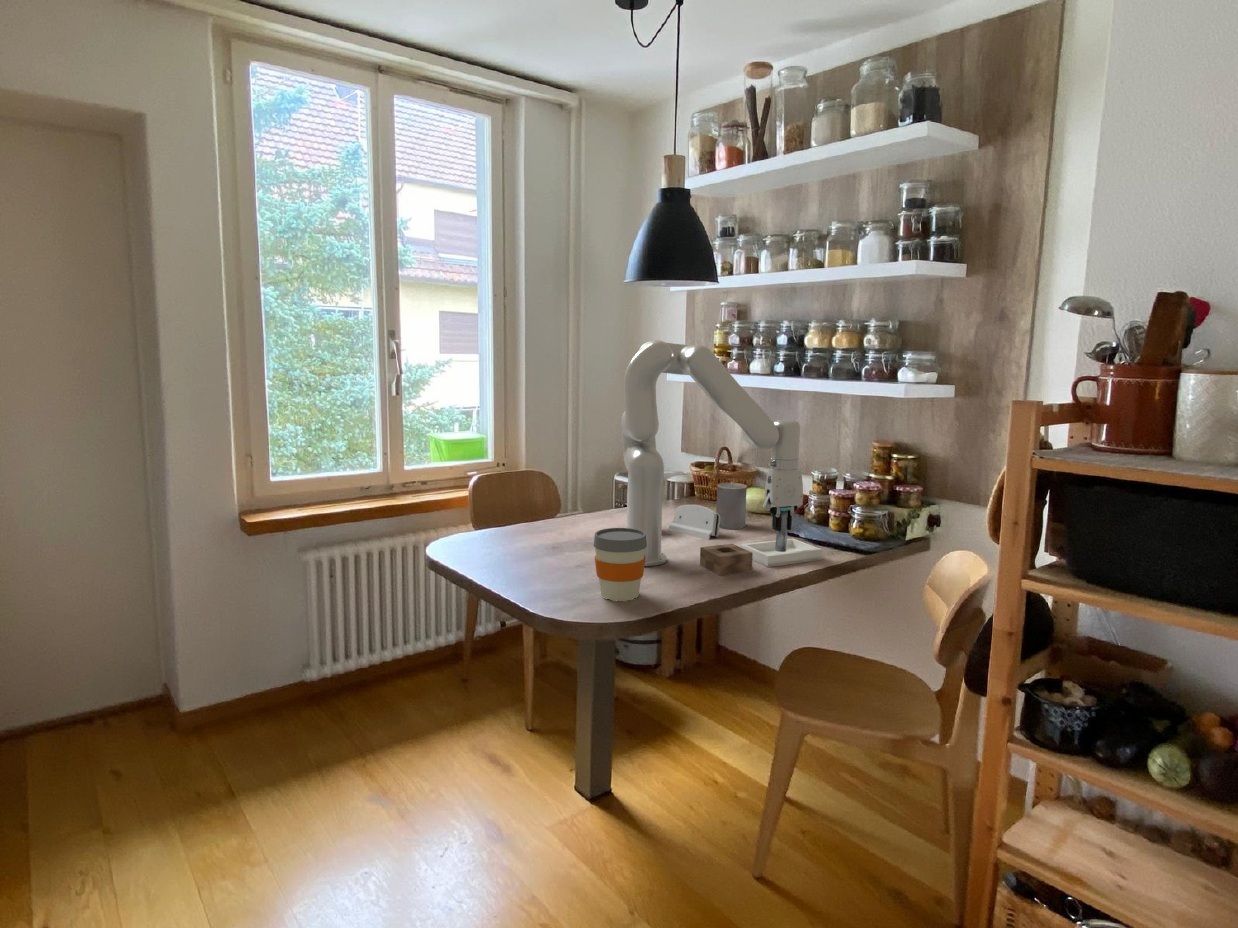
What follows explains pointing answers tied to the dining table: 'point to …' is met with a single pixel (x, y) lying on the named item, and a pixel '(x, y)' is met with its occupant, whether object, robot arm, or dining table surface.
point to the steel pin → (782, 530)
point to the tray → (793, 554)
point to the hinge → (696, 521)
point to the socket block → (726, 559)
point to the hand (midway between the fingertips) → (781, 528)
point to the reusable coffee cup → (620, 562)
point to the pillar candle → (731, 505)
